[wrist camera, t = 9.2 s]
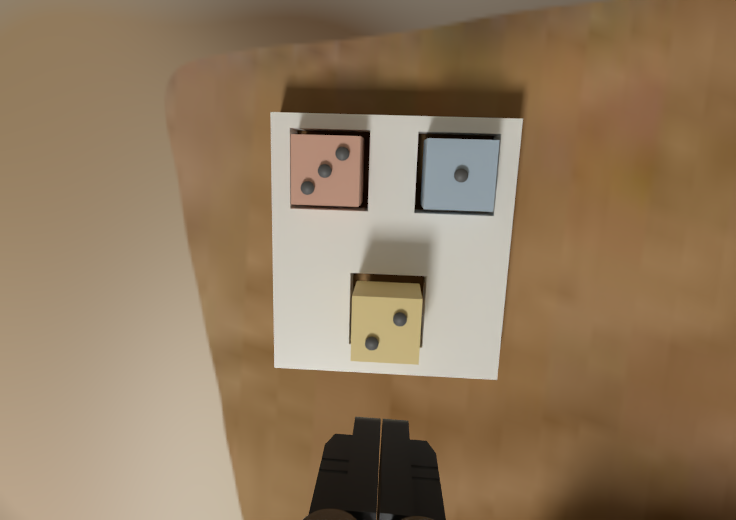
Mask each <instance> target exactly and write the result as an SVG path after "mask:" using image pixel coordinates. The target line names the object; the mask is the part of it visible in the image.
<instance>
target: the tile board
mask: <svg viewBox="0 0 736 520" xmlns="http://www.w3.org/2000/svg"><path fill="white" fill-rule="evenodd" d="M522 123H523V119H516V118H478V117H440V116H402V115H363V114H325V113H287V112H271V173H272V239H273V305H274V368H292V369H310V370H328V371H346V372H364V373H382V374H401V375H419V376H437V377H455V378H473V379H492V380H497V374H498V364H499V354H500V344H501V334H502V324H503V314H504V304H505V294H506V284H507V274H508V264H509V254H510V244H511V234H512V224H513V214H514V204H515V194H516V184H517V173H518V163H519V153H520V143H521V133H522ZM297 130H307V131H343V132H370V156H369V189H368V208H362V207H335V206H307V205H294V204H291V134H297ZM418 134H449V135H485V136H493V140H500V142H499V153H498V164H497V176H496V187H495V198H494V209H493V212H471V211H444V210H417V209H415V190H416V170H417V151H418ZM353 273H364V274H387V275H410V276H424V286H423V303H422V320H421V335H420V351H419V365H414V364H396V363H377V362H359V361H351V319H352V294H353Z"/></svg>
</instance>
